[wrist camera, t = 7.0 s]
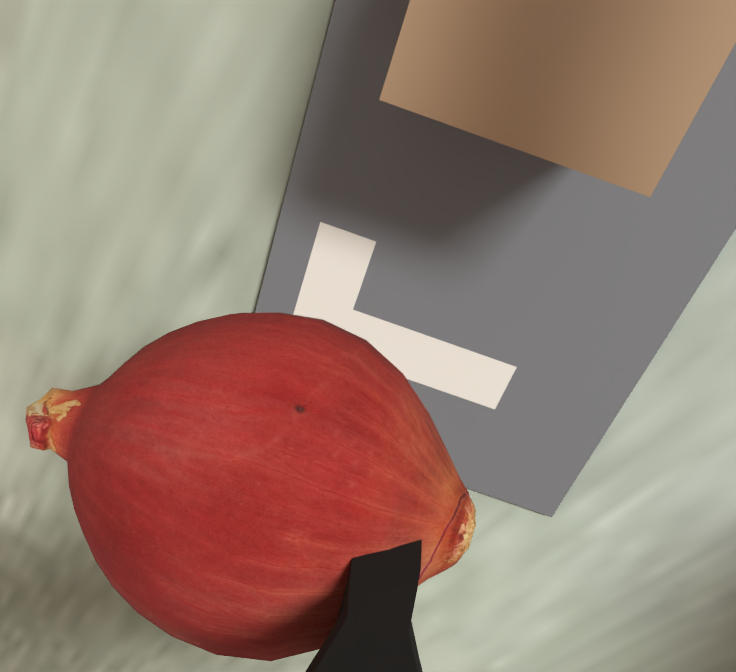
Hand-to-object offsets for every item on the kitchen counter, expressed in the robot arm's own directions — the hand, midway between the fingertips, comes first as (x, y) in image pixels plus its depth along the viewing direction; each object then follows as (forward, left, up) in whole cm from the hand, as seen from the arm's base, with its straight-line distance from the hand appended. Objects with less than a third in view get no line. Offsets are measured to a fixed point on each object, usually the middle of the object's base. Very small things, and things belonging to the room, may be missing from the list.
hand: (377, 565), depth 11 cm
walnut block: (0, -9, -9) cm, 13 cm away
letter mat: (-1, -4, -9) cm, 10 cm away
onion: (-2, 0, -1) cm, 2 cm away
